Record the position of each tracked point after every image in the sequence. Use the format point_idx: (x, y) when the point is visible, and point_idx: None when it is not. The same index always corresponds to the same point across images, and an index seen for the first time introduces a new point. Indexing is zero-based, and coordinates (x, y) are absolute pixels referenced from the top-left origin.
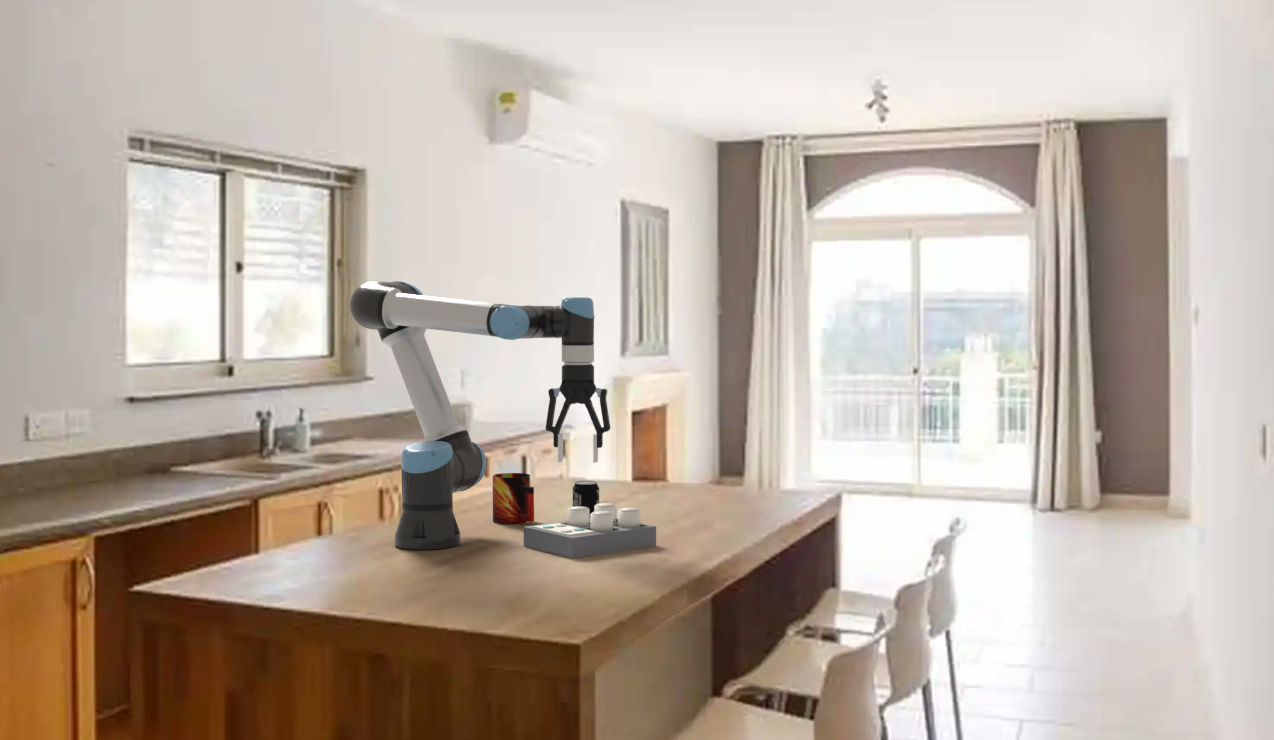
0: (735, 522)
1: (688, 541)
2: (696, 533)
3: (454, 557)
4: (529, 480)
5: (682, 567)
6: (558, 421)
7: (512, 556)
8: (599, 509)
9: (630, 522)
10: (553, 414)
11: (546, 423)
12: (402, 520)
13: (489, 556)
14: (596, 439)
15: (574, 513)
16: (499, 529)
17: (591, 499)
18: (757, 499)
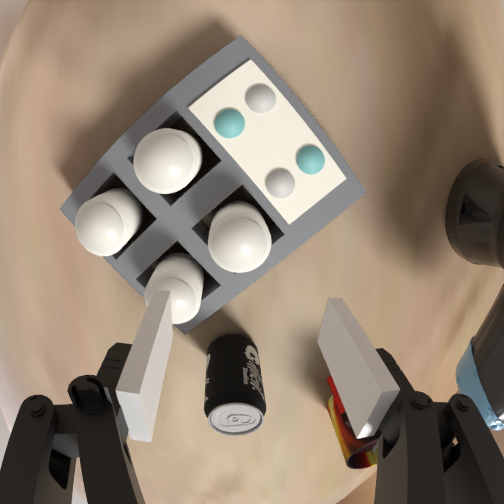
0: (33, 388)
1: (37, 248)
2: (45, 319)
3: (446, 91)
4: (346, 451)
5: (47, 15)
6: (433, 456)
7: (361, 80)
8: (184, 274)
9: (103, 193)
10: (461, 496)
11: (484, 421)
12: None
13: (399, 87)
14: (124, 366)
15: (248, 212)
16: (380, 342)
17: (219, 377)
18: (74, 477)
